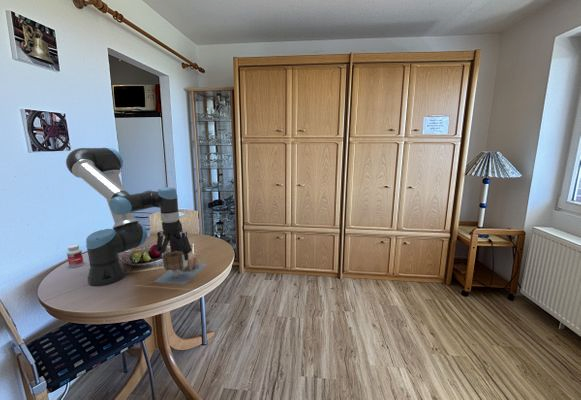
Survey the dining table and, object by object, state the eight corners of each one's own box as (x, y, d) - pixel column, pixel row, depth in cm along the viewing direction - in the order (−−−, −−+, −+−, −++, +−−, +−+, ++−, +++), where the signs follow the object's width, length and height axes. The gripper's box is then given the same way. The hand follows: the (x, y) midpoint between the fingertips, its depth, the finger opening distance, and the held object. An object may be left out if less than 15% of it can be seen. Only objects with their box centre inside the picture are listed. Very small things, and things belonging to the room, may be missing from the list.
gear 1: (160, 270, 123) (158, 258, 122) (172, 261, 132) (170, 250, 131) (179, 271, 122) (177, 259, 121) (189, 262, 131) (188, 251, 130)
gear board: (153, 283, 124) (152, 274, 123) (179, 263, 145) (178, 255, 144) (185, 286, 122) (184, 276, 121) (206, 265, 143) (206, 256, 142)
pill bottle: (68, 268, 140) (64, 249, 138) (70, 264, 146) (66, 245, 143) (83, 266, 144) (79, 246, 141) (84, 262, 149) (81, 243, 147)
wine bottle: (187, 259, 151) (183, 207, 145) (177, 264, 145) (172, 210, 139) (178, 257, 154) (173, 206, 148) (168, 261, 148) (163, 209, 142)
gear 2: (174, 270, 135) (173, 257, 134) (184, 262, 144) (183, 250, 143) (192, 271, 134) (190, 258, 132) (201, 263, 143) (200, 251, 142)
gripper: (143, 222, 121) (149, 268, 125) (188, 223, 118) (193, 270, 122) (154, 218, 128) (159, 261, 132) (197, 219, 125) (201, 263, 129)
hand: (175, 265), depth 127 cm, fingers closed on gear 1, 10 cm apart
